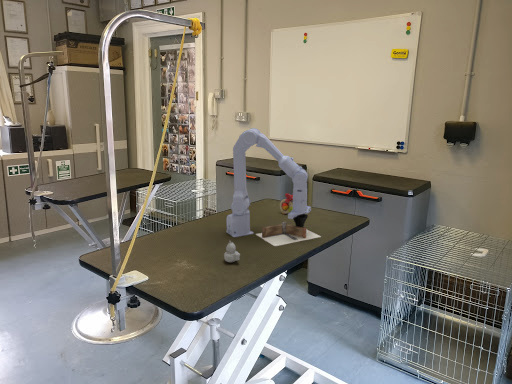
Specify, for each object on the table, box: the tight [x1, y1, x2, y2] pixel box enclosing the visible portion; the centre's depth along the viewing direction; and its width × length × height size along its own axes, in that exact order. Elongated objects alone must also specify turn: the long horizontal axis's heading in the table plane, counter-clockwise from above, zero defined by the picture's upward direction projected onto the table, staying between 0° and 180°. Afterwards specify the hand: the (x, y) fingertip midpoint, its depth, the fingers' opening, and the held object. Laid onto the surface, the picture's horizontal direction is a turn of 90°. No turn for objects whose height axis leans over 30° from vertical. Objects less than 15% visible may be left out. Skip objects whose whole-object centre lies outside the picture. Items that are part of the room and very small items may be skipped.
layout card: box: [255, 229, 322, 247], centre depth 166 cm, size 22×16×1 cm
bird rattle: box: [279, 193, 293, 215], centre depth 196 cm, size 6×11×9 cm
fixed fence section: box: [261, 221, 288, 239], centre depth 166 cm, size 11×2×5 cm, turn 118°
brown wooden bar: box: [286, 224, 308, 238], centre depth 164 cm, size 9×2×4 cm, turn 54°
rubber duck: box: [223, 240, 241, 263], centre depth 140 cm, size 5×7×8 cm
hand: (299, 231), depth 165 cm, fingers closed
